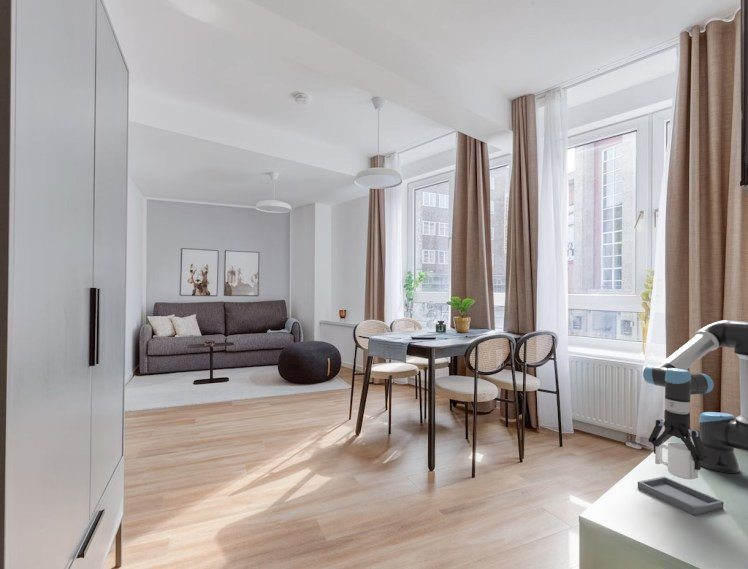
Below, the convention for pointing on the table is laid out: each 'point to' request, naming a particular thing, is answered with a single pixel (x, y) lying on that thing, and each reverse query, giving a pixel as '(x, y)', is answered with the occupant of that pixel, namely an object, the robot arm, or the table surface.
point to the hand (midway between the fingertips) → (675, 470)
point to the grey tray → (681, 496)
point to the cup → (677, 459)
